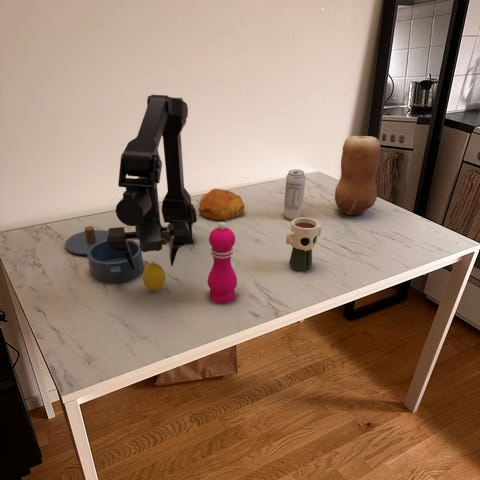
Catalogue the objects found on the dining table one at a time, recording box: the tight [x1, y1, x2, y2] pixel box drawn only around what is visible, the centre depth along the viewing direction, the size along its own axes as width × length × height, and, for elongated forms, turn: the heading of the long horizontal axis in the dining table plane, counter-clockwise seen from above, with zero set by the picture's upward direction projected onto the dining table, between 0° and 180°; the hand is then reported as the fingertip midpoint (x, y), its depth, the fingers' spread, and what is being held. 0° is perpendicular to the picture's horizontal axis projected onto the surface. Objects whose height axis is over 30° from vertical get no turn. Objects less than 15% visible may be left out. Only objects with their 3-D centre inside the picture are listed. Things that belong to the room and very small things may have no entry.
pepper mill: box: [206, 221, 238, 304], centre depth 108 cm, size 7×7×20 cm
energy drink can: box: [282, 168, 307, 221], centre depth 147 cm, size 6×6×15 cm
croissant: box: [198, 188, 245, 221], centre depth 151 cm, size 14×16×8 cm
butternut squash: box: [334, 135, 382, 216], centre depth 147 cm, size 14×13×25 cm
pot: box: [86, 240, 145, 285], centre depth 121 cm, size 14×19×6 cm
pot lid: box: [64, 225, 107, 256], centre depth 132 cm, size 15×15×5 cm
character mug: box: [285, 216, 322, 271], centre depth 122 cm, size 11×7×13 cm, turn 119°
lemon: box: [141, 262, 166, 292], centre depth 113 cm, size 6×6×8 cm
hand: (152, 266), depth 111 cm, fingers open, 9 cm apart
